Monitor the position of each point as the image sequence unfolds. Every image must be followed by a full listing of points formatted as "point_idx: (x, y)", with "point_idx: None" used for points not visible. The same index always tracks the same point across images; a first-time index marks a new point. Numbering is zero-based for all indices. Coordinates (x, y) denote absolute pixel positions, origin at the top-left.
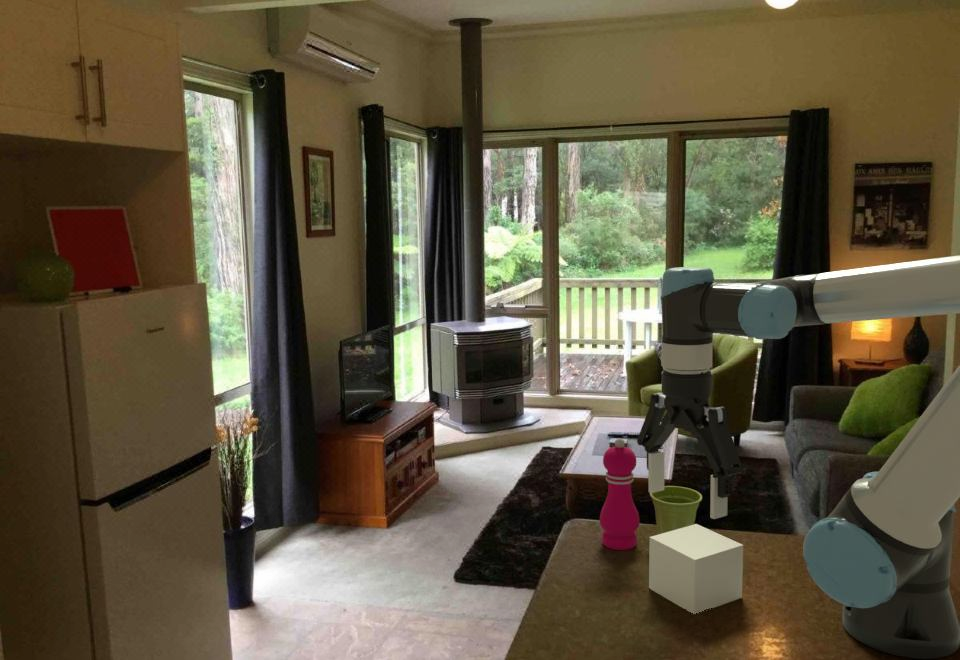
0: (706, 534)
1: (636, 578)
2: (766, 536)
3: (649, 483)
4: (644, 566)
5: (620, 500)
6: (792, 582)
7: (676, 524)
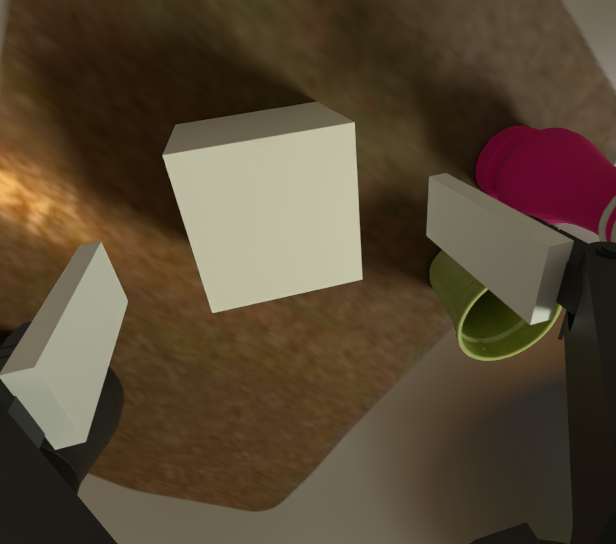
0: (300, 269)
1: (367, 103)
2: (380, 388)
3: (461, 185)
4: (401, 152)
5: (573, 183)
6: (233, 349)
7: (454, 275)
